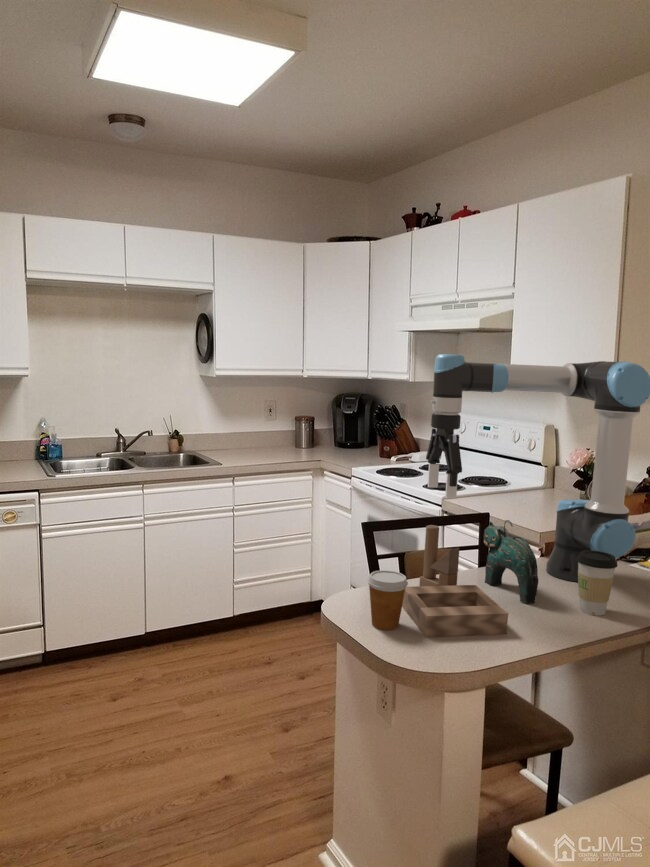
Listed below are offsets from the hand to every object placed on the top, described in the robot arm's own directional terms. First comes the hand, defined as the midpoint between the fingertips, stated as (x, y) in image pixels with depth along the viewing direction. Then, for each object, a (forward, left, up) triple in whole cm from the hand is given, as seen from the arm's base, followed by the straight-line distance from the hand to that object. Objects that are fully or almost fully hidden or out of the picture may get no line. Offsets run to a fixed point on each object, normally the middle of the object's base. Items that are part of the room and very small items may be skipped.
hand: (441, 492), depth 176 cm
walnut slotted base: (+2, +17, -28) cm, 33 cm away
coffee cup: (-38, +15, -28) cm, 49 cm away
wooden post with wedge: (-1, 0, -28) cm, 28 cm away
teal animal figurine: (-22, 0, -28) cm, 36 cm away
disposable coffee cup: (+19, +19, -28) cm, 39 cm away
